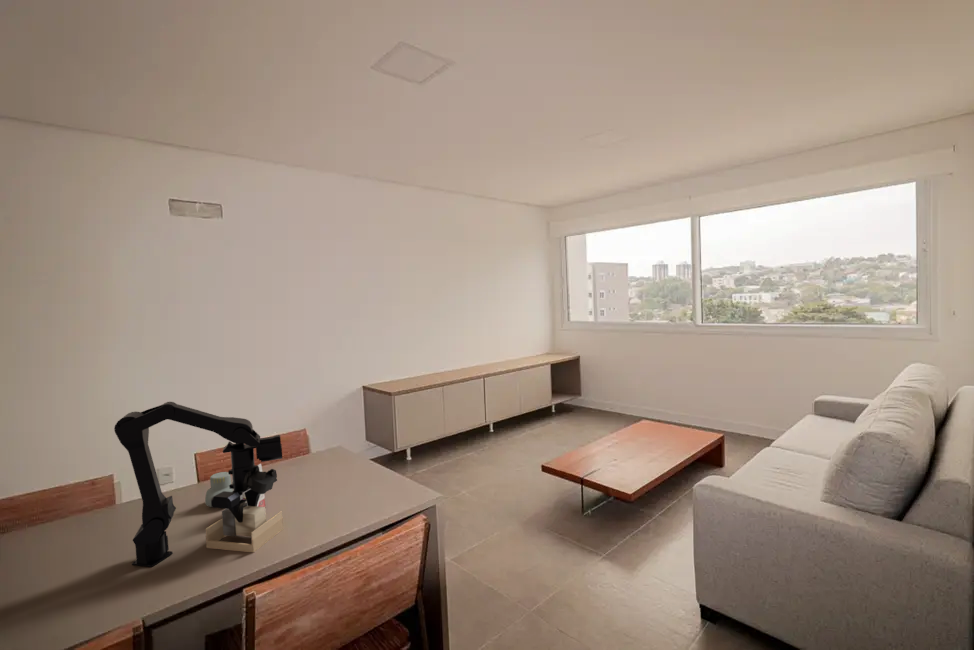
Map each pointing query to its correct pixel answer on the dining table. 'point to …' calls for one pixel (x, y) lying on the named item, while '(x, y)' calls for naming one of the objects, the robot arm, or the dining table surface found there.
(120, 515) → the dining table surface
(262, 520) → the steel ended block
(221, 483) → the air freshener
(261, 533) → the wooden tray frame
